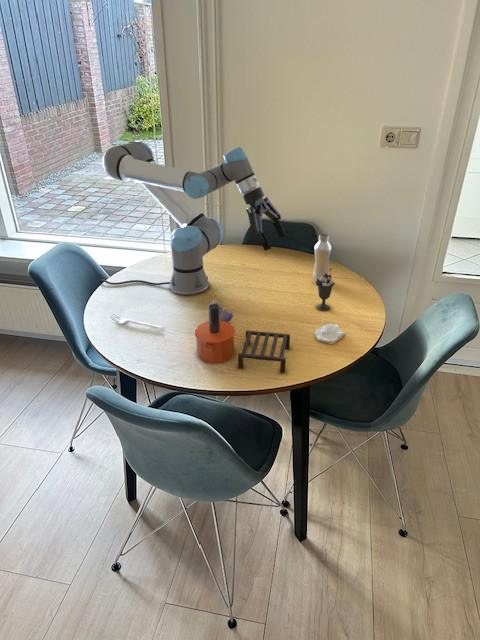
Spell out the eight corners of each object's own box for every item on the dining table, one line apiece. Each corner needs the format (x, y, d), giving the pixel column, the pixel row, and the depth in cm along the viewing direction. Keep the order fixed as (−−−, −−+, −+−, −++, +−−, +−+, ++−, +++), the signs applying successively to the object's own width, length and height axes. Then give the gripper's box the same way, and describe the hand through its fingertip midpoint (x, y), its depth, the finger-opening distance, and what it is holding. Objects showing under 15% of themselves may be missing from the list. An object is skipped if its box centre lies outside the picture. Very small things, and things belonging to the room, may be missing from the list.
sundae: (334, 305, 176) (338, 267, 169) (329, 313, 171) (333, 275, 164) (317, 301, 179) (320, 264, 171) (311, 309, 174) (314, 272, 166)
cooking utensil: (160, 331, 161) (159, 326, 160) (109, 321, 167) (108, 317, 166) (164, 327, 164) (164, 322, 163) (114, 317, 170) (113, 312, 169)
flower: (214, 319, 155) (224, 295, 160) (195, 322, 160) (205, 299, 165) (231, 335, 160) (240, 312, 165) (212, 338, 166) (221, 315, 171)
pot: (190, 366, 144) (189, 345, 140) (204, 336, 158) (203, 317, 155) (227, 370, 142) (227, 349, 138) (238, 340, 156) (238, 320, 153)
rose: (348, 333, 151) (317, 333, 151) (347, 345, 153) (316, 345, 153) (343, 317, 159) (314, 317, 160) (342, 329, 162) (313, 329, 162)
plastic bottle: (329, 286, 190) (334, 238, 180) (312, 286, 190) (316, 238, 180) (327, 279, 196) (331, 232, 186) (311, 279, 196) (314, 232, 186)
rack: (238, 368, 143) (237, 354, 140) (246, 343, 155) (246, 330, 152) (284, 373, 141) (285, 359, 138) (289, 347, 152) (290, 334, 150)
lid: (189, 342, 143) (187, 314, 138) (200, 322, 153) (198, 295, 148) (230, 347, 140) (229, 318, 136) (238, 325, 151) (238, 298, 146)
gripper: (243, 195, 163) (270, 251, 168) (273, 178, 181) (296, 228, 187) (226, 204, 167) (253, 258, 172) (257, 185, 186) (281, 235, 191)
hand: (275, 243), depth 180 cm, fingers open, 13 cm apart
